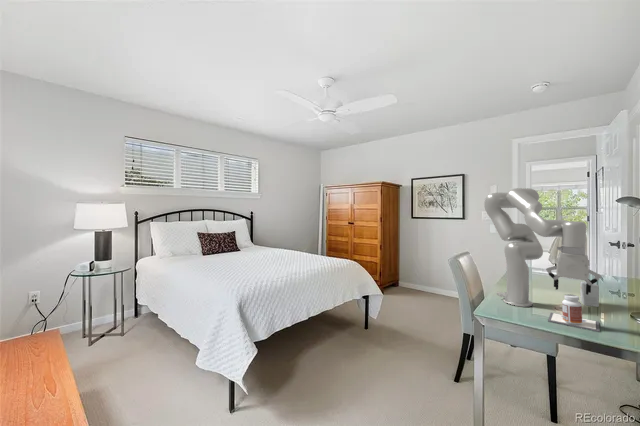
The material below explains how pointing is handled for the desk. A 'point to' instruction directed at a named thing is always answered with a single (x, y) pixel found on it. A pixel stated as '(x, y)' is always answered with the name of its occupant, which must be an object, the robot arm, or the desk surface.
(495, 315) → the desk surface
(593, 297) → the small box
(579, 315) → the pill bottle
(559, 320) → the writing mat
